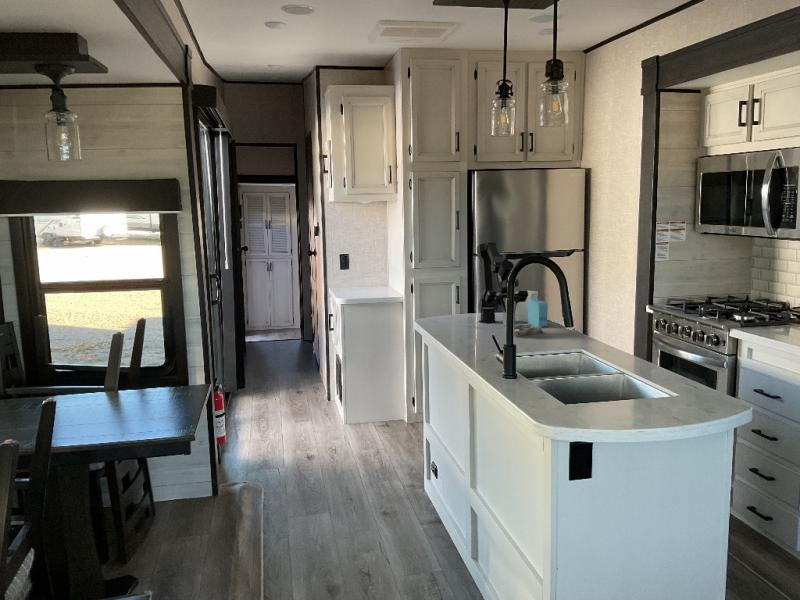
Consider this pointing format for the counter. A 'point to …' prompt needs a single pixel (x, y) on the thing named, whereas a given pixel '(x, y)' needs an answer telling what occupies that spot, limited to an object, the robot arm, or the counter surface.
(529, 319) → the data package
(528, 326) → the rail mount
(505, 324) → the module
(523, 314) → the supplement box
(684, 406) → the counter surface
